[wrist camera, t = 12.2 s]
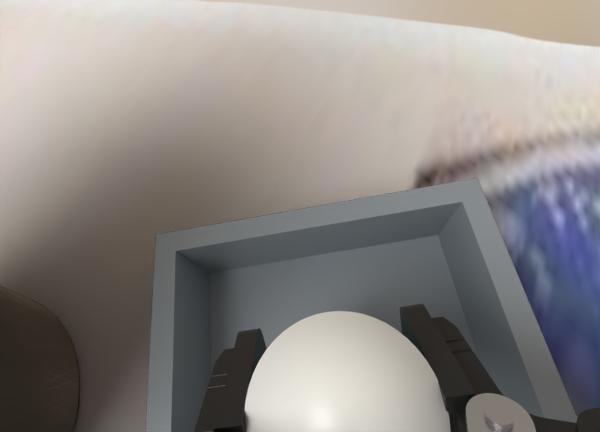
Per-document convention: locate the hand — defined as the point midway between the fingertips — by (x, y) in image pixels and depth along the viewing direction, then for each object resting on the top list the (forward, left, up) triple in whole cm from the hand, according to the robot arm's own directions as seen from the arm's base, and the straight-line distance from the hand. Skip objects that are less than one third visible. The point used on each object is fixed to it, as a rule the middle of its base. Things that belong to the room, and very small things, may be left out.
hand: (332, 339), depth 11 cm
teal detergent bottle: (0, +2, -8) cm, 8 cm away
